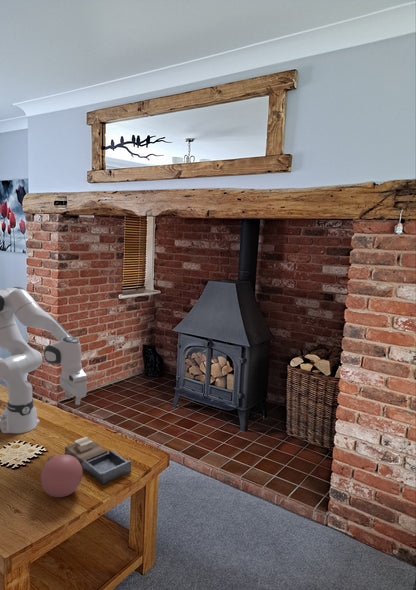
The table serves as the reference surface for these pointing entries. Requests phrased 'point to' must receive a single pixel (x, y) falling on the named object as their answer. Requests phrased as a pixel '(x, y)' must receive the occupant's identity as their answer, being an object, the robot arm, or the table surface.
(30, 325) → the robot arm
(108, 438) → the table surface
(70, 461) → the balloon
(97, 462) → the box
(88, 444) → the block
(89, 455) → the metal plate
